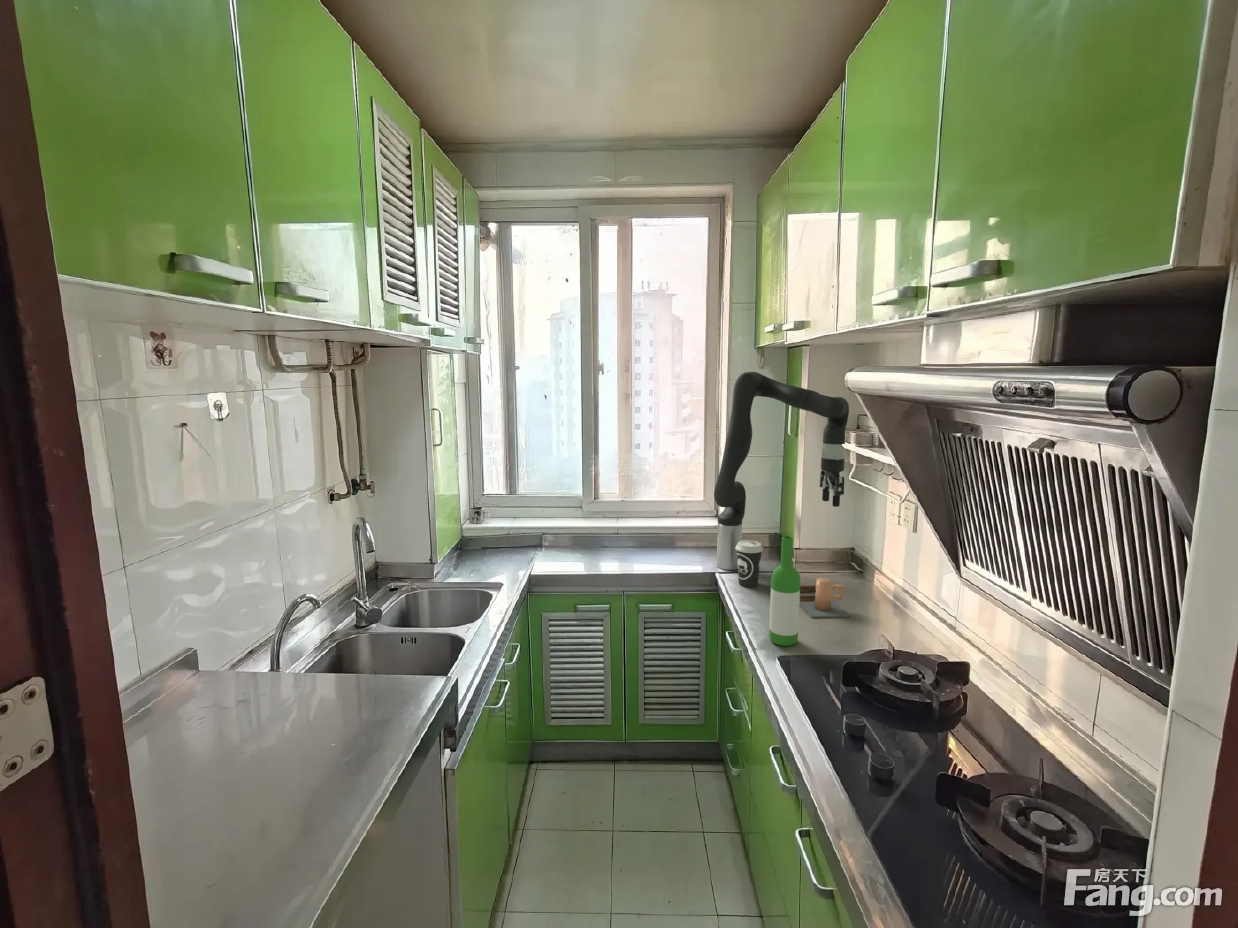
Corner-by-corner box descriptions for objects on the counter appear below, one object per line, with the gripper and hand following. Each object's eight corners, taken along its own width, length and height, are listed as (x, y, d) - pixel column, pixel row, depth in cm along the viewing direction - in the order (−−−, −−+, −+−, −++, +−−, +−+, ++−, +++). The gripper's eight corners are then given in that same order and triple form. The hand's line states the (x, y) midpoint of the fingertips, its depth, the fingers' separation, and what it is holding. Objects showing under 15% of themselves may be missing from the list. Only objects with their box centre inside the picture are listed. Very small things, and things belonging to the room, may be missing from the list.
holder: (789, 591, 208) (789, 585, 208) (816, 590, 209) (817, 585, 209) (799, 601, 199) (800, 596, 198) (828, 601, 199) (828, 595, 199)
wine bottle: (792, 634, 174) (797, 533, 169) (801, 647, 166) (806, 541, 162) (765, 635, 174) (769, 533, 169) (773, 647, 166) (777, 541, 161)
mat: (797, 603, 198) (797, 601, 197) (833, 602, 198) (833, 600, 198) (811, 618, 186) (811, 616, 186) (849, 617, 186) (849, 615, 186)
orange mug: (817, 610, 190) (819, 582, 188) (812, 604, 195) (814, 577, 193) (843, 611, 190) (846, 583, 188) (837, 605, 195) (840, 578, 193)
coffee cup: (762, 589, 210) (763, 547, 208) (734, 587, 212) (735, 546, 210) (761, 580, 219) (762, 540, 217) (734, 578, 221) (735, 538, 219)
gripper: (814, 453, 211) (811, 499, 214) (830, 459, 197) (828, 508, 200) (835, 453, 212) (832, 499, 214) (853, 459, 198) (850, 508, 200)
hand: (830, 503), depth 207 cm, fingers open, 8 cm apart
